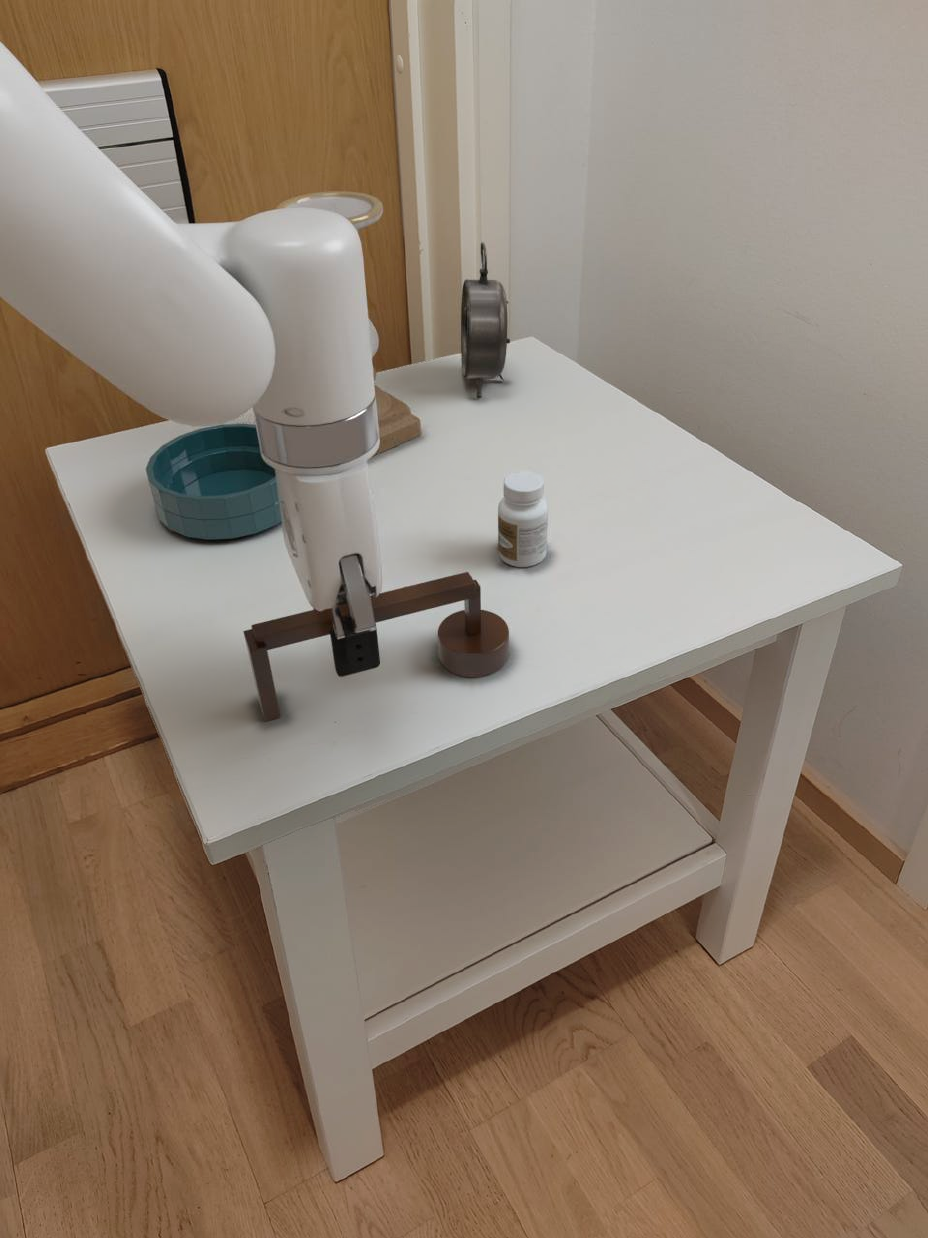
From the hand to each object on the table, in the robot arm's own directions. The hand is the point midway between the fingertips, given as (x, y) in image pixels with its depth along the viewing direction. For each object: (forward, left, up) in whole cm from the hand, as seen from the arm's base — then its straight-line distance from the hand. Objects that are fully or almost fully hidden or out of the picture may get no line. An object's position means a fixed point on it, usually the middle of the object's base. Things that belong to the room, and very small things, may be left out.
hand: (347, 643), depth 71 cm
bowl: (-4, +30, -4) cm, 31 cm away
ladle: (+3, 0, -4) cm, 5 cm away
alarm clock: (+29, +45, -5) cm, 54 cm away
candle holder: (+11, +39, -5) cm, 41 cm away
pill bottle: (+19, +11, -5) cm, 22 cm away
